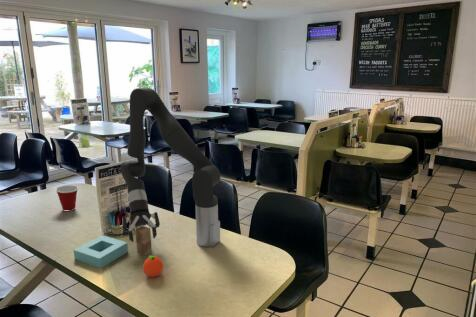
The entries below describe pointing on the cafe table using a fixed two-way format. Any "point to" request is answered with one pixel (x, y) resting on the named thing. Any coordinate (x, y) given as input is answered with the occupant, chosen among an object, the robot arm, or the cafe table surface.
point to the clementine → (153, 266)
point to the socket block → (99, 259)
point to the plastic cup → (67, 196)
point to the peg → (143, 240)
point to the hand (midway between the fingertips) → (143, 239)
